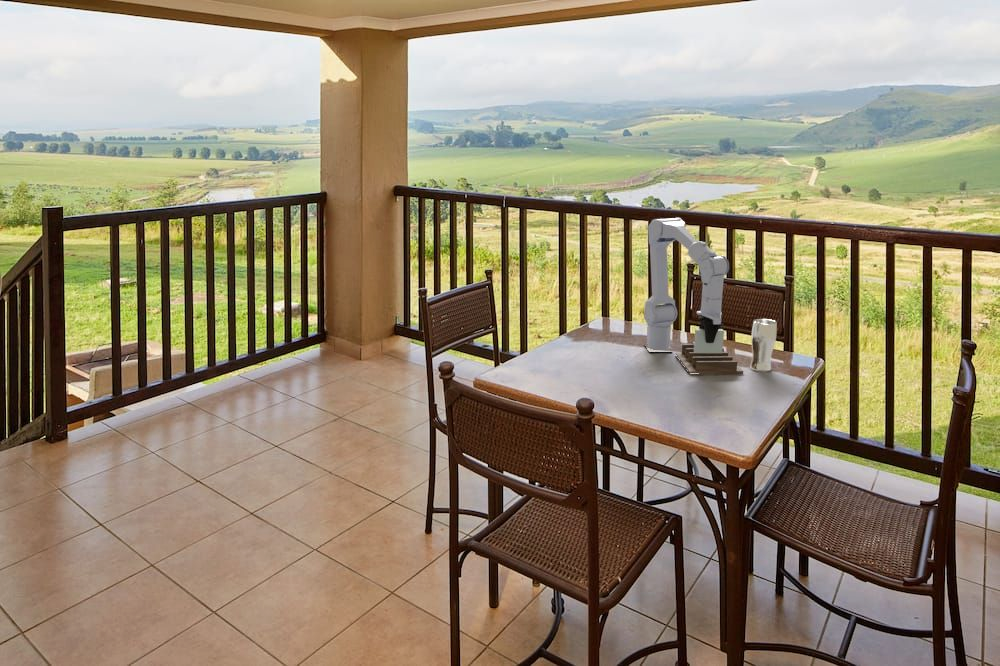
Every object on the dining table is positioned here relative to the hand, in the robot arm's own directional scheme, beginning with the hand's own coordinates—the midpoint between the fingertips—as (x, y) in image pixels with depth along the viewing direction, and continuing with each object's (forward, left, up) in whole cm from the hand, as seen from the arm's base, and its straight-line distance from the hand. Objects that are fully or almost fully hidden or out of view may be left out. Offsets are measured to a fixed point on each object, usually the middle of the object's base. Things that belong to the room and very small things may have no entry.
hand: (708, 341), depth 195 cm
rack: (-7, +2, -10) cm, 12 cm away
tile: (0, 0, -3) cm, 3 cm away
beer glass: (-3, +17, -10) cm, 20 cm away
